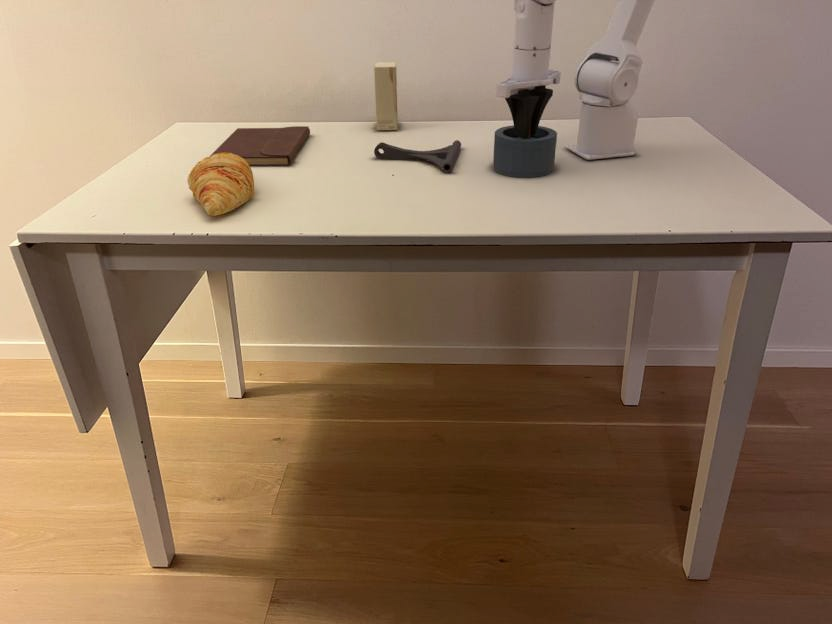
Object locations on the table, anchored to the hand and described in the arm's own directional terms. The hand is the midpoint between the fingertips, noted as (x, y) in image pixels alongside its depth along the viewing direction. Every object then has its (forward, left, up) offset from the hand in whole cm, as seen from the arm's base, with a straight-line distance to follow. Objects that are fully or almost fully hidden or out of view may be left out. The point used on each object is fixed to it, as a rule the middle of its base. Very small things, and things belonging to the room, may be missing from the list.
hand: (525, 135), depth 117 cm
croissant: (+50, -1, -6) cm, 51 cm away
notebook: (+42, -26, -6) cm, 50 cm away
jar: (0, 0, -6) cm, 6 cm away
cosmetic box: (+15, -34, -6) cm, 38 cm away
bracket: (+16, -11, -6) cm, 20 cm away
